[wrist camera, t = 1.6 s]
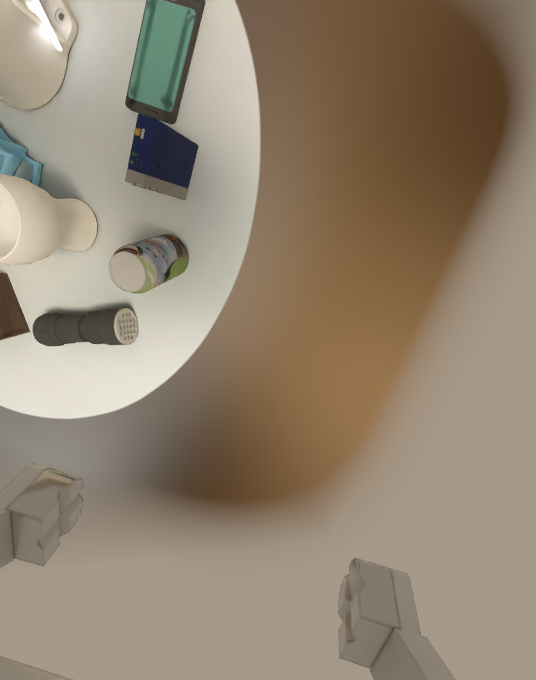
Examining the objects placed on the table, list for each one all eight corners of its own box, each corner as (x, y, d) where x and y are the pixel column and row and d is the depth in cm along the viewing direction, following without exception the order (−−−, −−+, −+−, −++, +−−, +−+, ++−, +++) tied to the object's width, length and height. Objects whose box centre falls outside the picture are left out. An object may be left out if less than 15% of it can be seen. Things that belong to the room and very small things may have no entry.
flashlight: (58, 342, 65) (32, 351, 60) (51, 310, 64) (24, 316, 59) (140, 339, 61) (120, 348, 56) (134, 305, 60) (114, 311, 55)
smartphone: (203, -9, 47) (170, 122, 51) (206, -3, 48) (175, 125, 52) (149, -26, 48) (122, 105, 52) (154, -19, 49) (127, 108, 53)
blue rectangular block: (183, 139, 53) (136, 111, 41) (199, 145, 52) (156, 117, 41) (170, 194, 55) (122, 182, 43) (185, 200, 55) (141, 188, 43)
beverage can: (192, 236, 56) (150, 234, 44) (191, 287, 57) (151, 298, 46) (151, 233, 57) (101, 230, 45) (152, 283, 59) (103, 293, 47)
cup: (118, 217, 57) (39, 209, 43) (86, 275, 60) (3, 284, 46) (62, 173, 57) (-34, 149, 43) (34, 232, 61) (-65, 229, 46)
